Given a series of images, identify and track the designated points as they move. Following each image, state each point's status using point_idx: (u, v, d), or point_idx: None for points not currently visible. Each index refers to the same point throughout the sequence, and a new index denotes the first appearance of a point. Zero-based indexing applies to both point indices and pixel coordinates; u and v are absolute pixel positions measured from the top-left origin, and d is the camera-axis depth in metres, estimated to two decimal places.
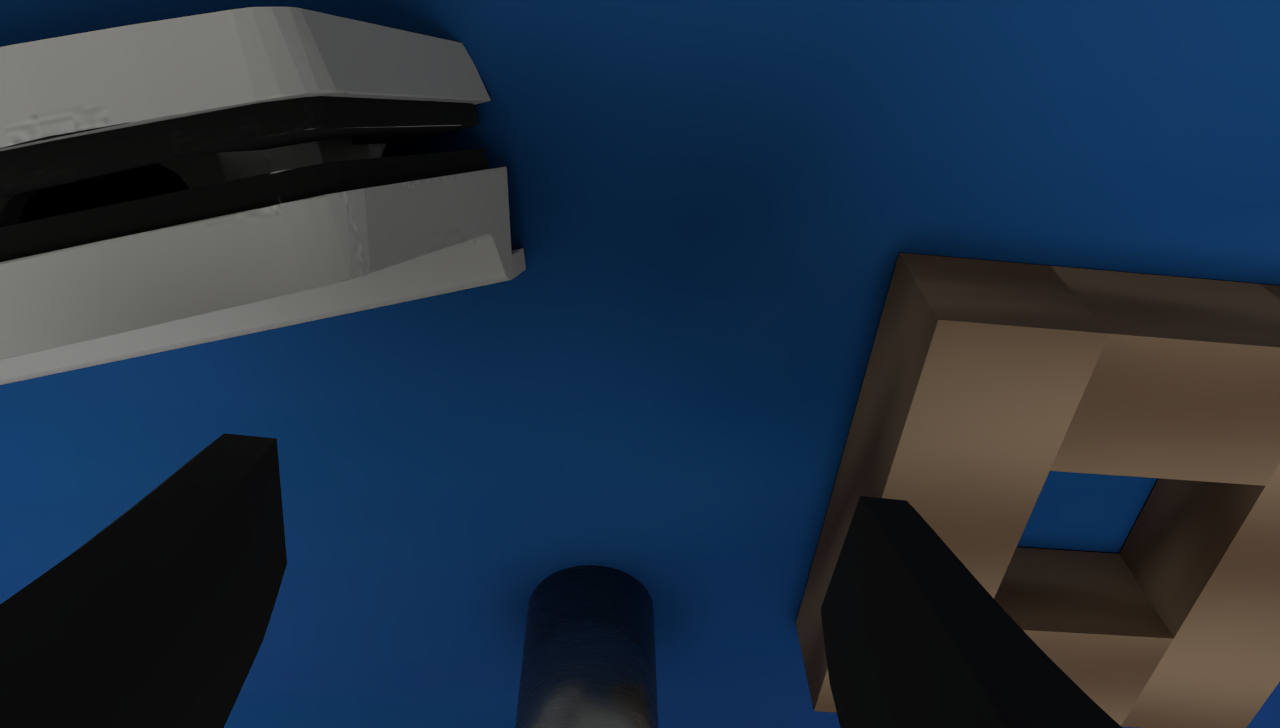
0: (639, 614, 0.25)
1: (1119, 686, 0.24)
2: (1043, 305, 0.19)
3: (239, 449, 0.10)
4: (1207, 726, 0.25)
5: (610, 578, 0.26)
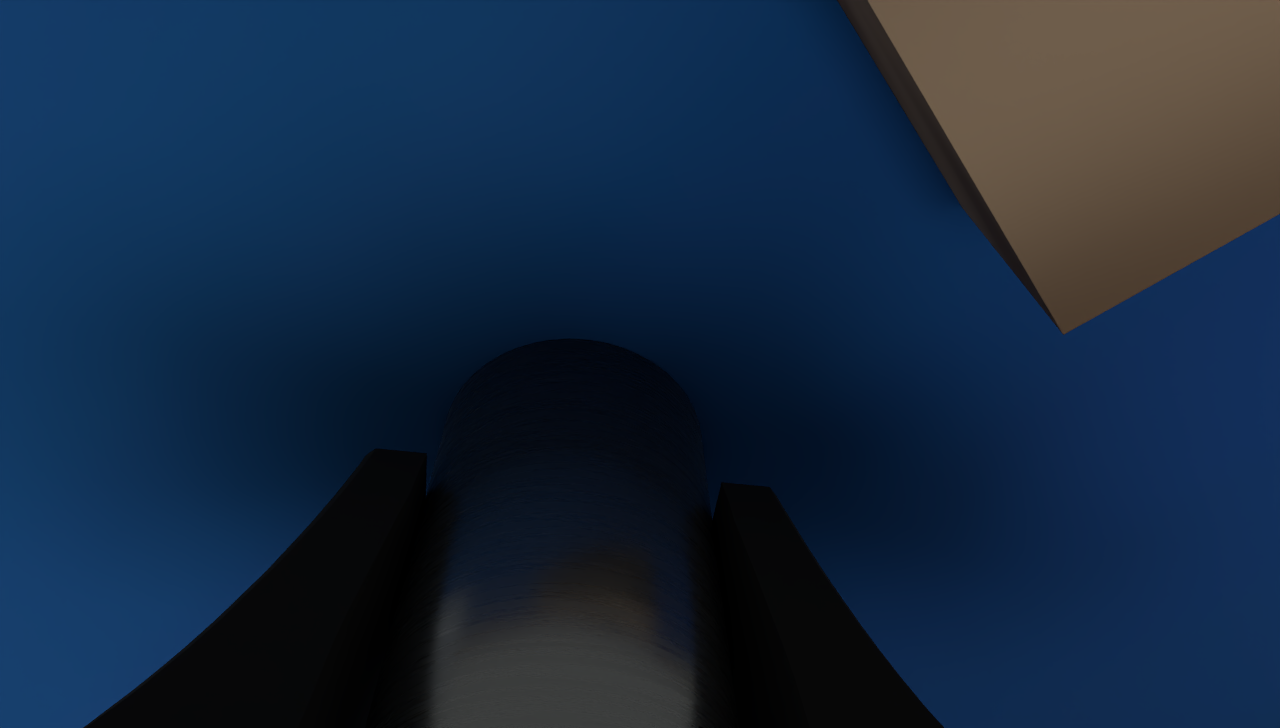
0: (583, 390, 0.11)
1: None
2: None
3: (396, 463, 0.11)
4: None
5: (511, 364, 0.12)
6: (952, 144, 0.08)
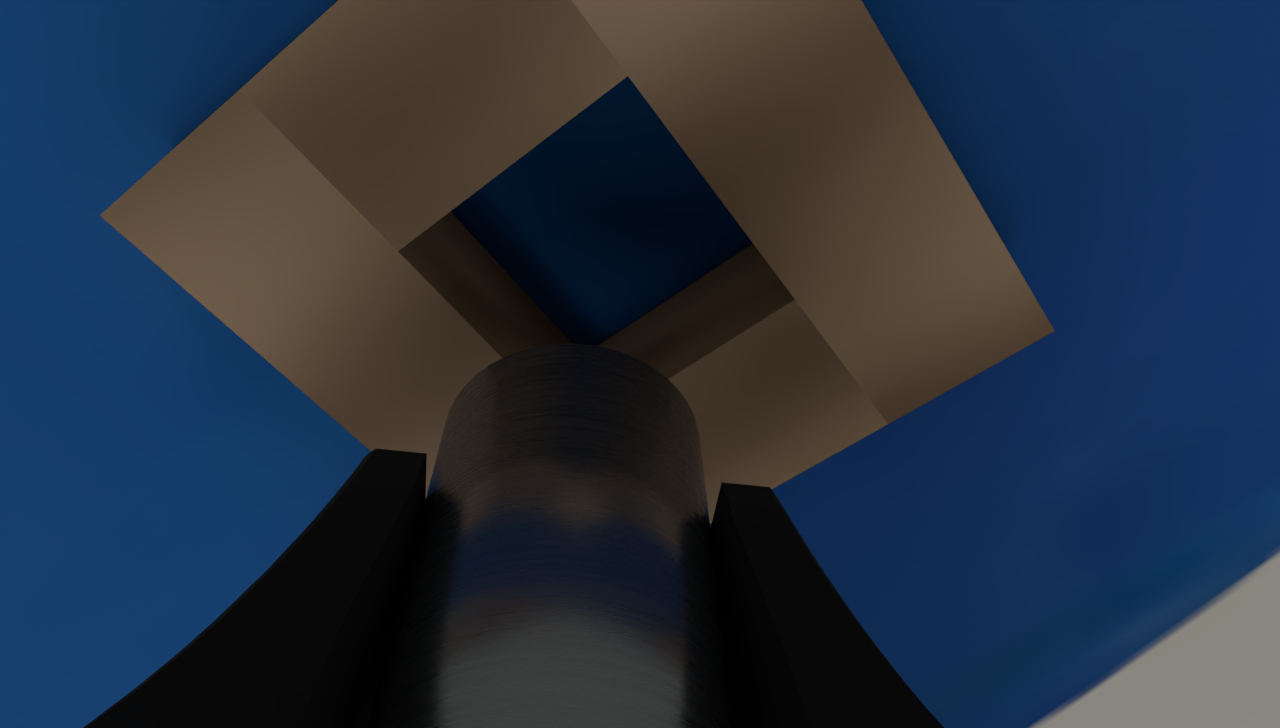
0: (587, 398, 0.11)
1: (817, 387, 0.18)
2: None
3: (395, 464, 0.11)
4: (996, 355, 0.17)
5: (514, 367, 0.12)
6: None
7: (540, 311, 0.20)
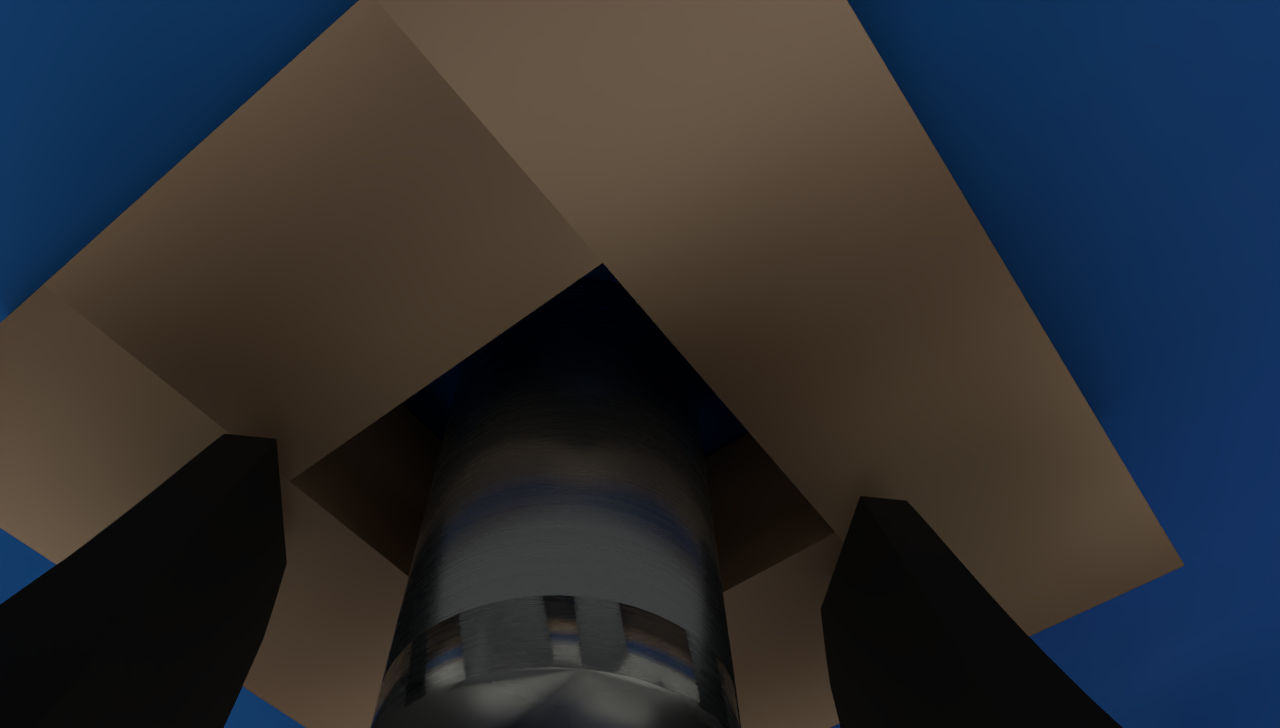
0: (592, 319, 0.13)
1: None
2: None
3: (239, 448, 0.10)
4: (1103, 593, 0.13)
5: None
6: None
7: None
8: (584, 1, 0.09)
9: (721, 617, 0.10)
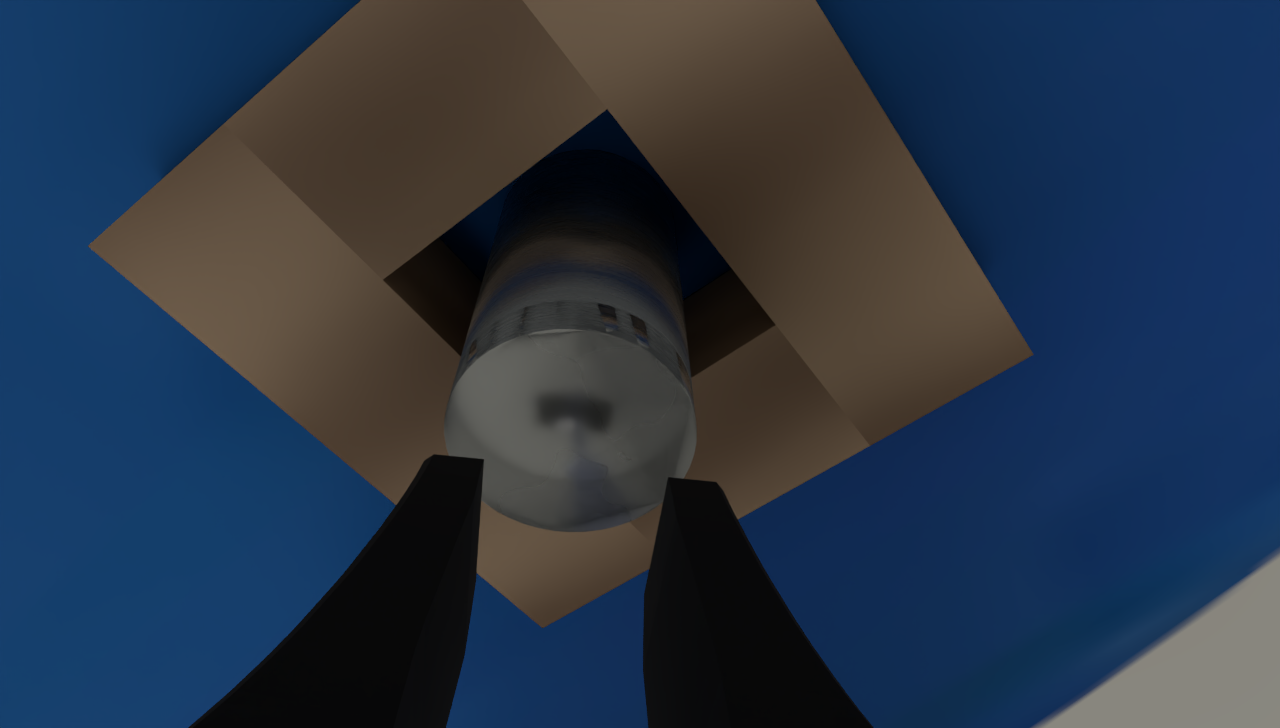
0: (598, 172, 0.17)
1: (799, 410, 0.18)
2: None
3: (455, 469, 0.11)
4: (975, 378, 0.18)
5: (551, 162, 0.18)
6: None
7: None
8: None
9: (683, 342, 0.14)
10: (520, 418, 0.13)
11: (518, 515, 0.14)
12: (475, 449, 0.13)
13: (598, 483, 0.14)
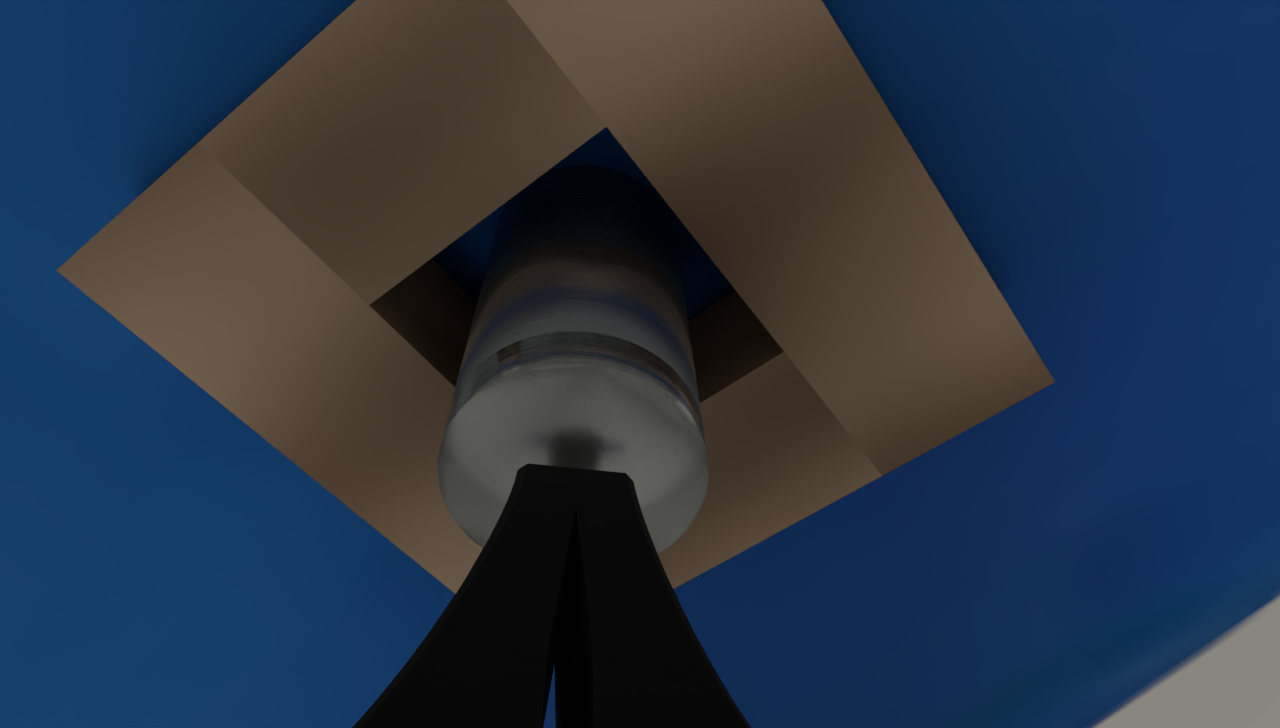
0: (598, 190, 0.16)
1: (807, 439, 0.17)
2: None
3: (552, 479, 0.11)
4: (994, 406, 0.17)
5: (548, 179, 0.17)
6: None
7: None
8: None
9: (692, 373, 0.13)
10: (519, 458, 0.12)
11: None
12: (471, 490, 0.12)
13: None
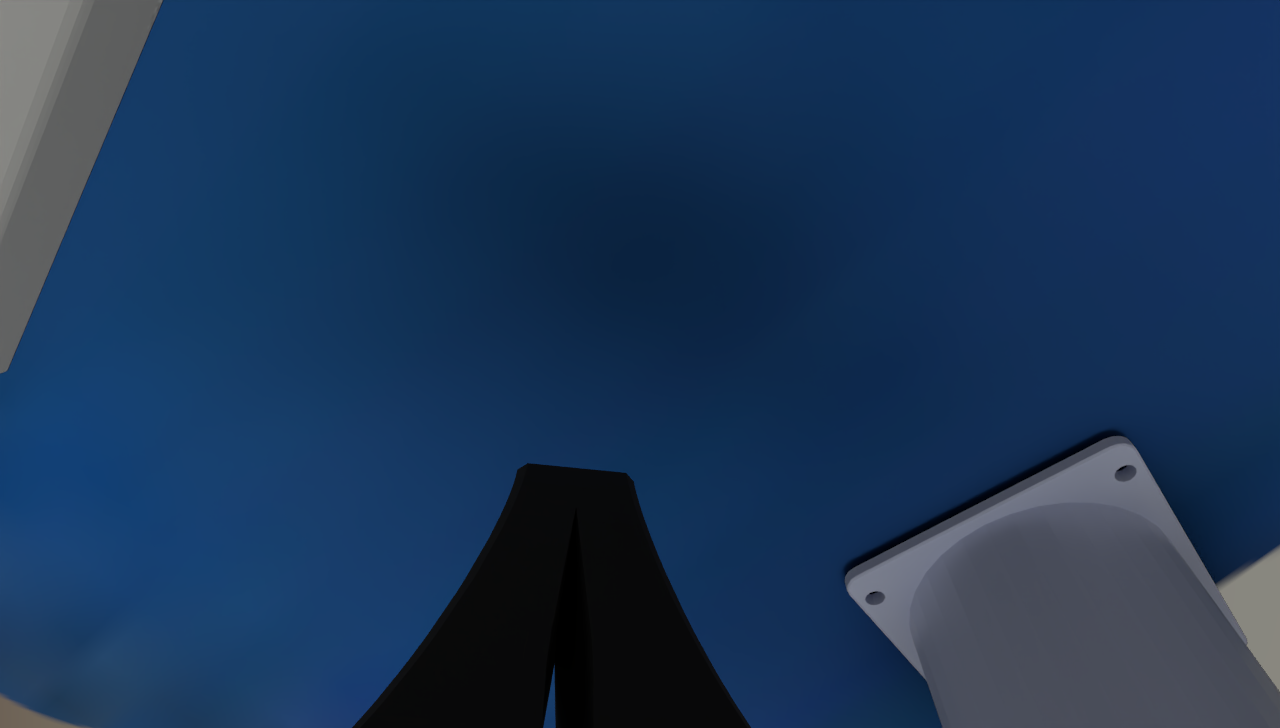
0: None
1: None
2: None
3: (552, 479, 0.11)
4: None
5: None
6: None
7: None
8: None
9: None
10: None
11: None
12: None
13: None
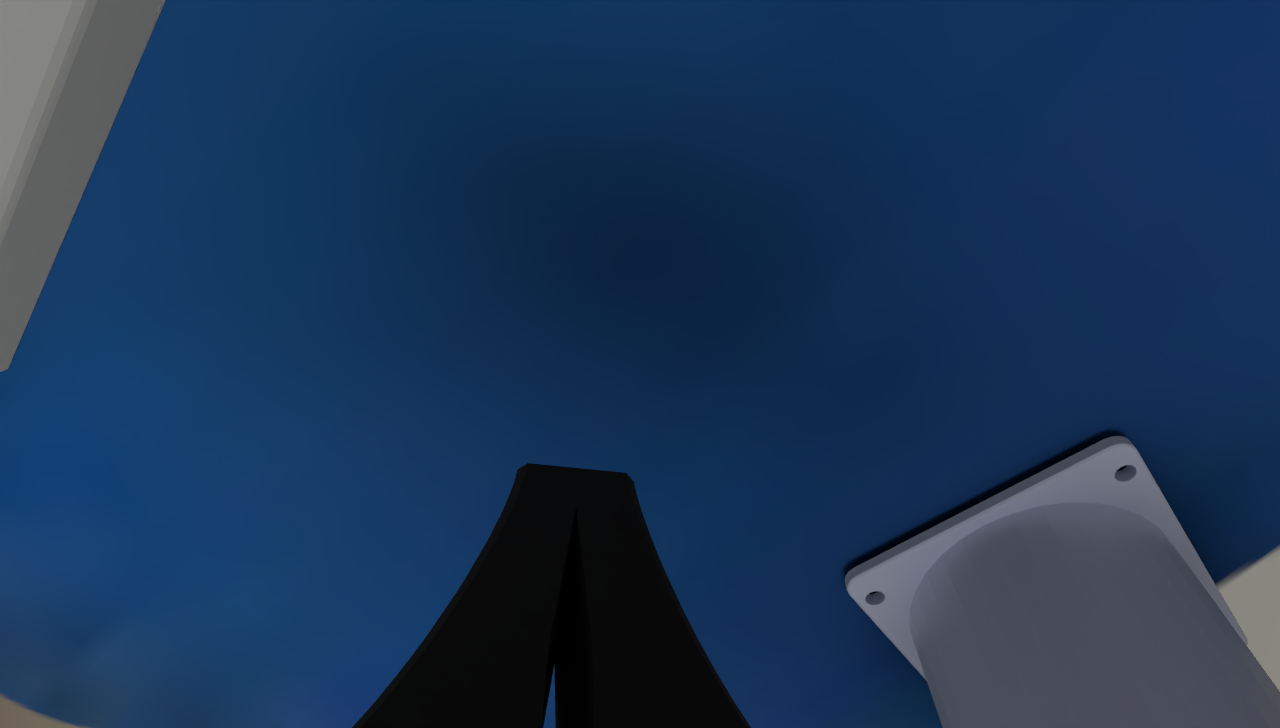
0: None
1: None
2: None
3: (552, 479, 0.11)
4: None
5: None
6: None
7: None
8: None
9: None
10: None
11: None
12: None
13: None
